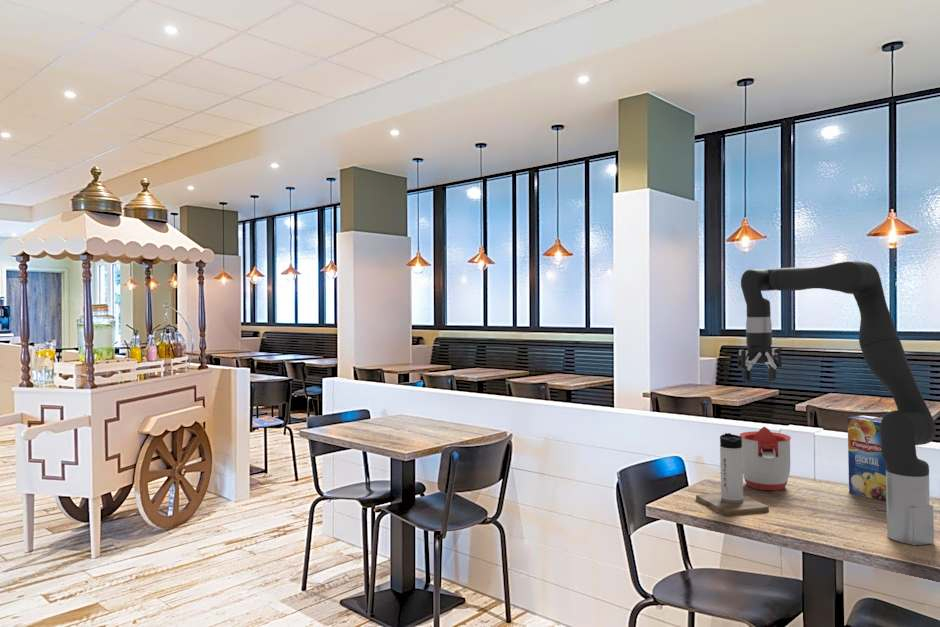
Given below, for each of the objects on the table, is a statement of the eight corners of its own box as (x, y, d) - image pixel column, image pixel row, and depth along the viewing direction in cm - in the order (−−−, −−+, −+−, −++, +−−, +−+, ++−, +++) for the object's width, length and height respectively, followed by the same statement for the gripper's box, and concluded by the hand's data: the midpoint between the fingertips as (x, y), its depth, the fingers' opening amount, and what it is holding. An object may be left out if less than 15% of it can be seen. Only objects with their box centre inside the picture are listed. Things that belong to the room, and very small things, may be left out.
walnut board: (768, 511, 189) (768, 506, 189) (725, 516, 187) (725, 510, 187) (736, 496, 205) (736, 491, 205) (696, 499, 202) (696, 495, 202)
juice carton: (901, 498, 198) (900, 420, 198) (886, 502, 195) (885, 423, 195) (863, 488, 209) (861, 415, 209) (848, 492, 206) (847, 417, 206)
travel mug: (739, 497, 199) (737, 433, 198) (746, 504, 192) (744, 437, 192) (718, 497, 199) (716, 433, 199) (724, 504, 193) (723, 437, 192)
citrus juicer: (743, 493, 208) (742, 431, 208) (738, 478, 224) (736, 421, 224) (797, 496, 203) (795, 433, 203) (787, 481, 220) (786, 423, 220)
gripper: (746, 332, 202) (747, 383, 202) (786, 330, 205) (787, 381, 205) (732, 331, 209) (733, 381, 210) (770, 329, 212) (772, 378, 212)
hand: (759, 381), depth 207 cm, fingers open, 8 cm apart
